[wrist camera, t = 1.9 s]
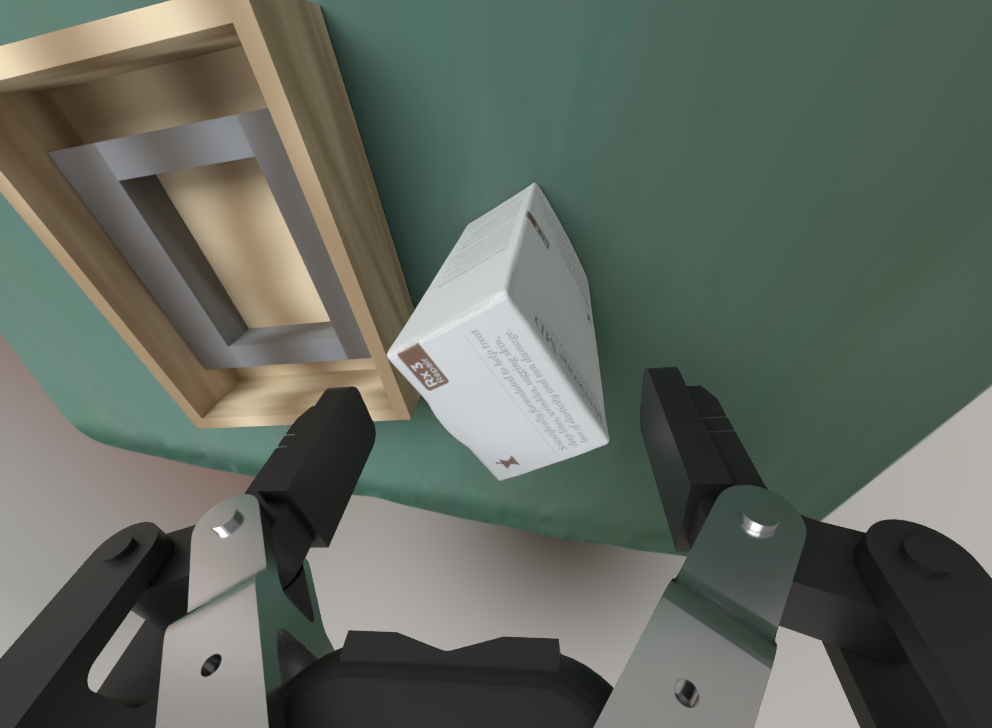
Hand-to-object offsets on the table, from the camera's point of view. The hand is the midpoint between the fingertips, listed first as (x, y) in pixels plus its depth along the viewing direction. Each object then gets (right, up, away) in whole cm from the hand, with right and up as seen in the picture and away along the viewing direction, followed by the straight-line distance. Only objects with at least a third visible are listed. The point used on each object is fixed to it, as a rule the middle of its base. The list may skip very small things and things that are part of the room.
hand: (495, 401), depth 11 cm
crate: (-13, +8, +11) cm, 18 cm away
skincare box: (+2, +7, +10) cm, 12 cm away
